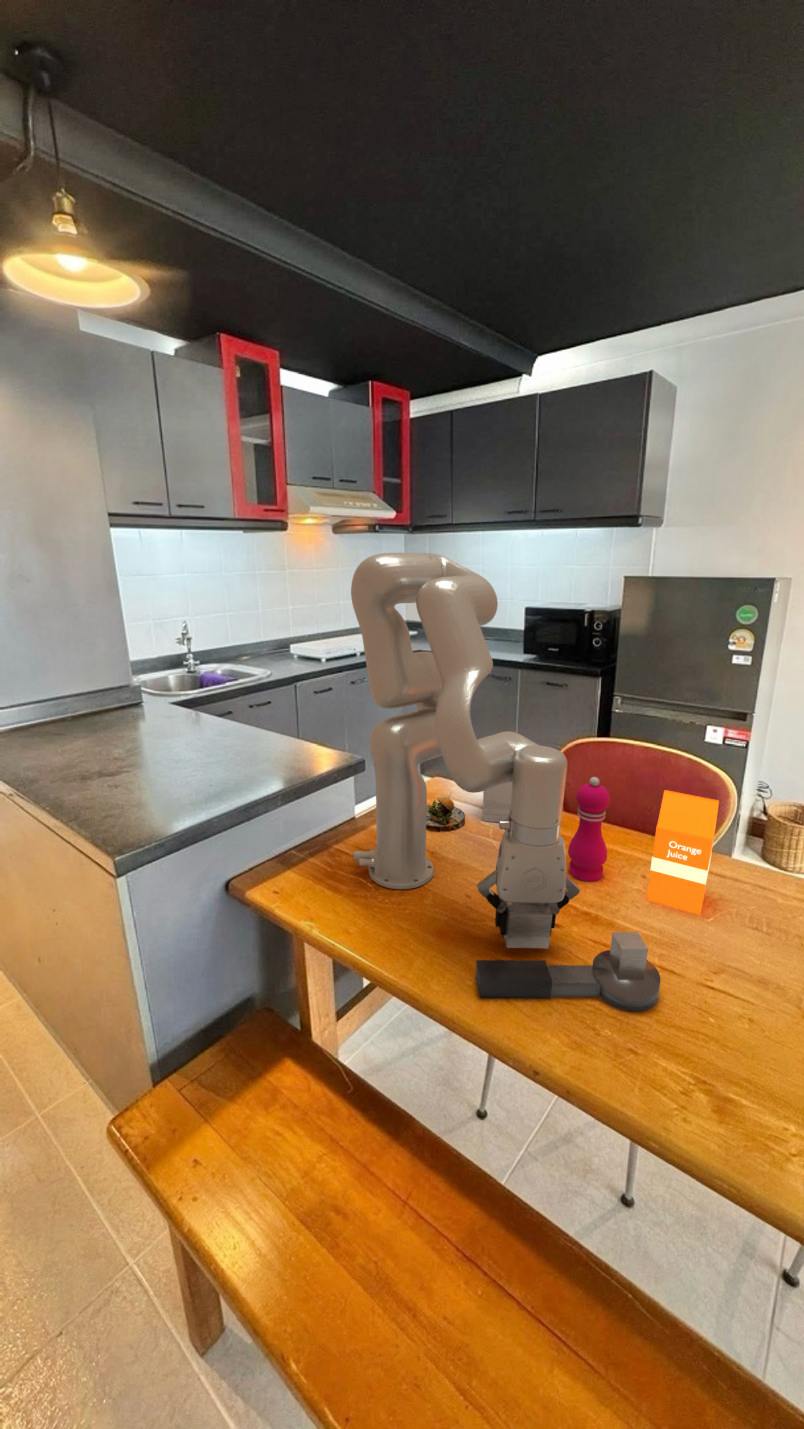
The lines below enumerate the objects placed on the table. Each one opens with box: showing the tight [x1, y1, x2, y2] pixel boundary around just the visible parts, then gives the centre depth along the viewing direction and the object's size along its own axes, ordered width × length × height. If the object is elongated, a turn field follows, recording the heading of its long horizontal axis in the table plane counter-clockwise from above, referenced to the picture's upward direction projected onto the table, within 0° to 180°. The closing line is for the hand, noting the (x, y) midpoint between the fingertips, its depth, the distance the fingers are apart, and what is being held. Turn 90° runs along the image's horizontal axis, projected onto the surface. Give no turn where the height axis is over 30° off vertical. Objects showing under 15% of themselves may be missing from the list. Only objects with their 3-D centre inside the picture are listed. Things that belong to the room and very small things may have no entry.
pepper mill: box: [567, 776, 611, 882], centre depth 110 cm, size 7×7×20 cm
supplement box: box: [482, 782, 512, 823], centre depth 136 cm, size 9×9×15 cm
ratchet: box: [475, 931, 661, 1013], centre depth 82 cm, size 26×9×8 cm, turn 90°
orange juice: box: [646, 789, 720, 916], centre depth 102 cm, size 8×9×20 cm
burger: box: [426, 793, 466, 833], centre depth 134 cm, size 12×12×8 cm
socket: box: [503, 902, 552, 949], centre depth 91 cm, size 6×6×6 cm
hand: (524, 929), depth 91 cm, fingers closed on socket, 6 cm apart
